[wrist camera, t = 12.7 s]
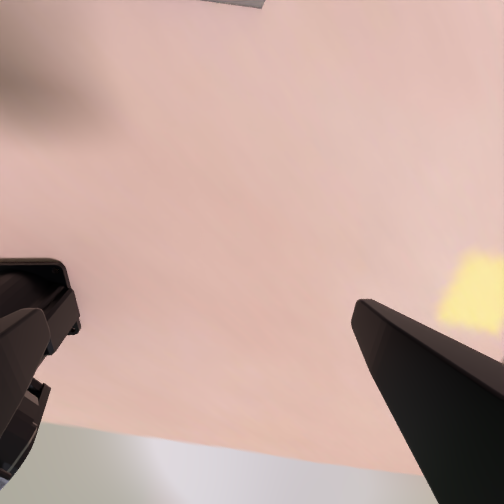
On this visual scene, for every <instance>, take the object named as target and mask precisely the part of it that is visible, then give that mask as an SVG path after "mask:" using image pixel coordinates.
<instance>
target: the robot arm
mask: <svg viewBox="0 0 504 504" xmlns="http://www.w3.org/2000/svg"><path fill="white" fill-rule="evenodd" d="M55 268H57V269H59V271H57V270H55ZM79 317H80V313H79V309H78V306H77V302H76V298H75V294H74V291H73V290H72V288H71V286H70V282H69V279H68V275H67V271H66V268H65V266H64V265H63V264H62V263H59V262H3V263H0V490H1V489H2V488H3V487H4V486H5V485H6V484H7V482H8V481H9V480H10V479H11V478H12V477H13V475H14V474H15V473H16V472H17V470H18V469H19V468H20V466H21V465H22V463H23V462H24V460H25V459H26V457H27V455H28V454H29V452H30V450H31V448H32V446H33V443H34V441H35V438H36V435H37V431H38V428H39V425H40V422H41V419H42V416H43V412H44V409H45V406H46V403H47V400H48V397H49V393H50V390H51V388H50V387H49V386H48V385H46V384H45V383H43V384H42V383H40V382H39V381H37V380H36V379H35V378H33V376H34V374H35V372H36V370H37V368H38V367H39V366H40V364H41V363H42V361H43V360H44V359H45V357H46V356H47V355H52V354H53V353H55V352H56V350H57V349H58V347H59V346H60V344H61V343H62V341H63V340H64V339H65V337H66V336H67V335H75V334H77V333H78V332H79V331H80V329H81V324H80V321H79ZM351 326H352V329H353V332H354V334H355V337H356V339H357V342H358V344H359V346H360V349H361V351H362V354H363V356H364V359H365V361H366V364H367V366H368V368H369V371H370V373H371V375H372V377H373V379H374V381H375V383H376V385H377V387H378V389H379V391H380V392H381V394H382V396H383V398H384V400H385V402H386V404H387V406H388V408H389V410H390V412H391V413H392V415H393V417H394V419H395V421H396V423H397V425H398V427H399V429H400V431H401V433H402V435H403V436H404V438H405V440H406V442H407V444H408V446H409V448H410V450H411V452H412V454H413V456H414V457H415V459H416V461H417V463H418V465H419V467H420V469H421V471H422V473H423V475H424V477H425V478H426V480H427V482H428V484H429V486H430V488H431V490H432V492H433V494H434V496H435V498H436V499H437V501H438V503H439V504H504V365H503V364H502V363H500V362H498V361H496V360H494V359H492V358H490V357H488V356H486V355H484V354H482V353H480V352H478V351H476V350H474V349H472V348H470V347H468V346H466V345H464V344H462V343H460V342H458V341H456V340H454V339H452V338H450V337H448V336H446V335H444V334H442V333H440V332H437V331H435V330H433V329H431V328H429V327H427V326H425V325H423V324H421V323H419V322H417V321H415V320H413V319H411V318H409V317H407V316H405V315H403V314H401V313H399V312H397V311H395V310H393V309H391V308H389V307H387V306H385V305H383V304H381V303H379V302H377V301H375V300H372V299H359V300H358V301H357V302H356V305H355V308H354V312H353V316H352V319H351ZM73 328H75V329H73Z"/></svg>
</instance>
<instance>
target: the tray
mask: <svg viewBox="0 0 504 504" xmlns="http://www.w3.org/2000/svg"><path fill="white" fill-rule="evenodd" d="M201 1H209V2H216V3H224V4H231V5H238V6H246V7H253V8H261V9H262V6H263V4H264V2H265V0H201Z"/></svg>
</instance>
